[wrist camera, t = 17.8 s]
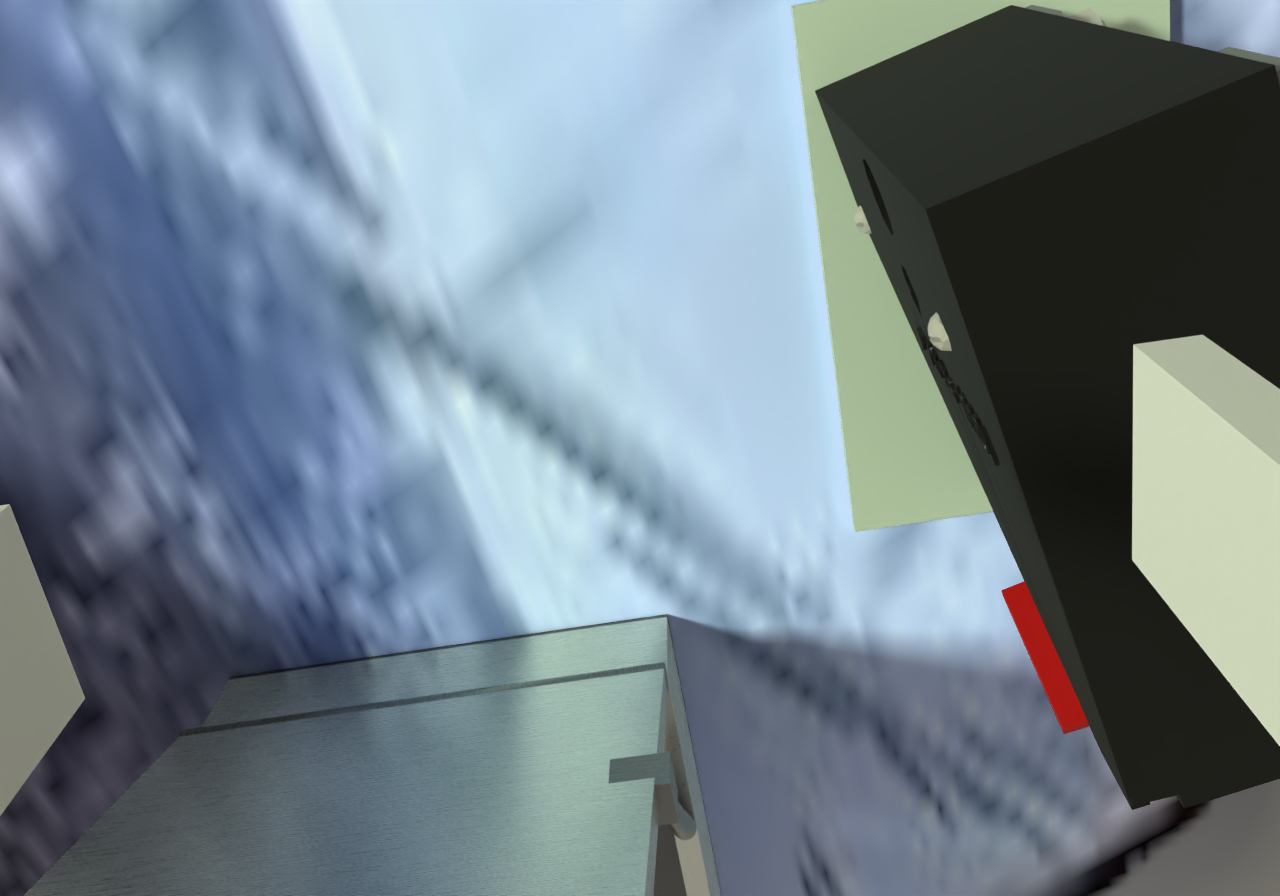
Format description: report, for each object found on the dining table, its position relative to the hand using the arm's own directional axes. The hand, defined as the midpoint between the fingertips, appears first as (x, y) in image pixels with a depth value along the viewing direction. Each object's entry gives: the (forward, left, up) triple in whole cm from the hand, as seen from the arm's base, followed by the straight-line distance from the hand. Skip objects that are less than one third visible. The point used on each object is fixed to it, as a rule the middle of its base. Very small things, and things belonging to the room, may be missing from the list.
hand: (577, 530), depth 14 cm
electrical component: (+13, -8, -33) cm, 36 cm away
